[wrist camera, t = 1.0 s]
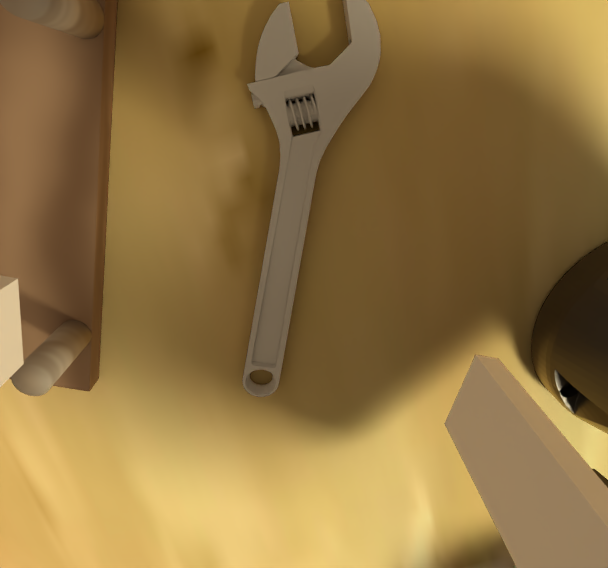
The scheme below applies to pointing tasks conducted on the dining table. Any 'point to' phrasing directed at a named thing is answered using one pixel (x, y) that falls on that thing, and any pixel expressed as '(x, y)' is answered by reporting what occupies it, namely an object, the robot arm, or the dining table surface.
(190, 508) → the dining table surface
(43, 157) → the rack
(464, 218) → the dining table surface
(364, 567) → the dining table surface
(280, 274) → the adjustable wrench
